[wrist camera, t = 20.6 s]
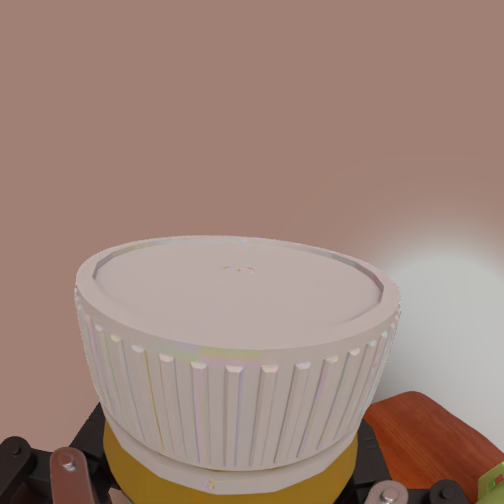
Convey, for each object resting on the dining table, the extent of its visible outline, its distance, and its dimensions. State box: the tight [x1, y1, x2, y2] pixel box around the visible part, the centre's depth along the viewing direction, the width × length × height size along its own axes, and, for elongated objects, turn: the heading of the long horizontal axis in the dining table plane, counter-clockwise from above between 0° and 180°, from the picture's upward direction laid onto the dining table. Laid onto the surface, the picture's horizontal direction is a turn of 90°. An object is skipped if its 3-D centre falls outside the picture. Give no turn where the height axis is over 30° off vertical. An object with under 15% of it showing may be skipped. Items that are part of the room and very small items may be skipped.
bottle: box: [74, 235, 401, 504], centre depth 7 cm, size 7×7×15 cm
